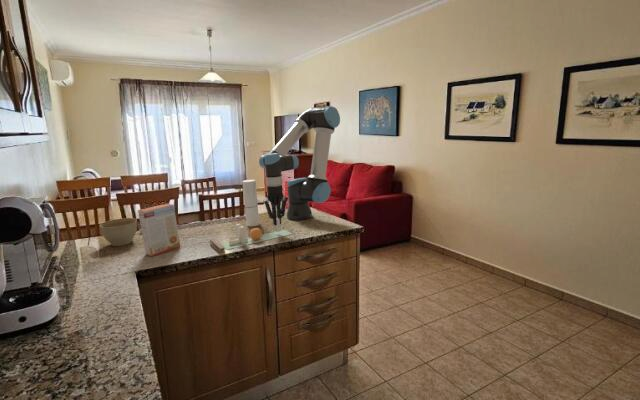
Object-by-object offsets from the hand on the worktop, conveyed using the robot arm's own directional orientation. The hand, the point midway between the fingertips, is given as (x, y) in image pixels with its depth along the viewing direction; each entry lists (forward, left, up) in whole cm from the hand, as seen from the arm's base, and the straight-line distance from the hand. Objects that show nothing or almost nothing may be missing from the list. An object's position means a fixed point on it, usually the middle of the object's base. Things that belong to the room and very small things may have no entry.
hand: (277, 230), depth 174 cm
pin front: (+17, 0, -1) cm, 17 cm away
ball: (+12, +1, +1) cm, 12 cm away
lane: (+11, 0, -2) cm, 11 cm away
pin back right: (+19, -2, -2) cm, 20 cm away
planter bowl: (+67, -40, -2) cm, 78 cm away
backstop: (+31, 0, -2) cm, 31 cm away
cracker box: (+52, -14, -2) cm, 54 cm away
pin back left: (+19, +2, -2) cm, 20 cm away
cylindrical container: (+3, -26, -2) cm, 26 cm away
